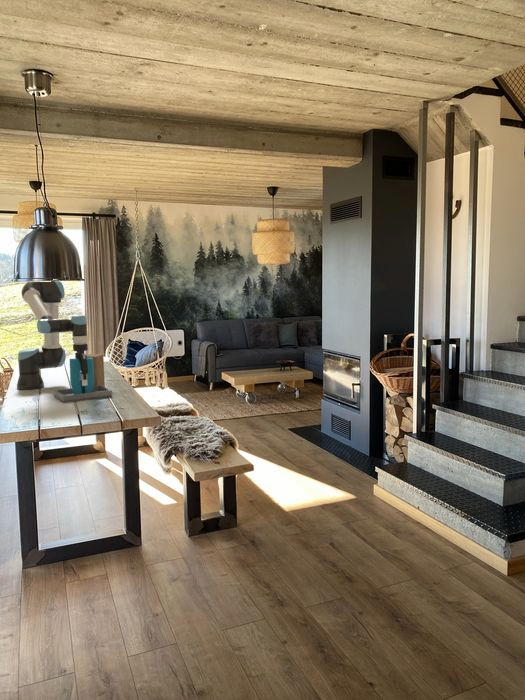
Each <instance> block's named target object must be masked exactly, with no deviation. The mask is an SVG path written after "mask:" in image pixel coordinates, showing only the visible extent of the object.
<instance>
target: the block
mask: <svg viewBox="0 0 525 700" xmlns="http://www.w3.org/2000/svg"><path fill="white" fill-rule="evenodd" d="M80 360H82V359H80ZM87 366H88V373H87V385H86V386H82V380H81V381H80V375H79V372H80V371H81V364H80V362H79V359H77V358H76V359H75V358H69V376H70V377H69V378H70V386H71V388H72V389H73V392H74V395H75V394H83V393H91V392H92V389H93V385H94V366H93V358H87Z"/></svg>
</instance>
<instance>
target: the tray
mask: <svg viewBox="0 0 525 700" xmlns="http://www.w3.org/2000/svg"><path fill="white" fill-rule="evenodd" d="M53 397H54V398H56V399H57V400H58V401H60V402H62V403H64V404H65V403H72V402H73V403H74V402H81V401H88V400H89V401H90V400H96V399H97V400H98V399H105V398H112V397H113V391H112V389H110V388H108V387H104V386H101V385H96V386H93V389H92V392H91V393H83V394H75V395H74V392H73V389H72V387H71V388H63V389H54V390H53Z"/></svg>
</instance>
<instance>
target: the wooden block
mask: <svg viewBox="0 0 525 700" xmlns="http://www.w3.org/2000/svg"><path fill="white" fill-rule="evenodd" d="M86 355H87V358H93V366H94V385H93V386H96V385H101V386H104V387H105V385H106V384H105V383H106V382H105V381H106V380H105V364H104V363H105V362H104V355H103V354H99V353H98V354H97V353H95V354H93V353H92V354H91V353H89V354H86Z"/></svg>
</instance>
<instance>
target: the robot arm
mask: <svg viewBox="0 0 525 700" xmlns="http://www.w3.org/2000/svg"><path fill="white" fill-rule="evenodd" d="M65 293H66V292H65V288H64V284H63V283H62V282H61V281H60V280H59V281H51V282H29V281H27V282H26V283H25V284H24V285H23V287H22V289H21V296H22V299H23V301H24V302H25V303H26V304H28V307H29V308H30V309H31V311H32V313H33V315H34V316H35V318H36V320H37V322H36V328H37V332H38V333H39V334H43V342H44V343H43V344H42V345H41V349H39V347H30V348H25V349H21V350H19V352H18V353H17V361H18V375H19V376H18V379H17V384H16V388H17V390H36V389H42V388H43V387H45V382H44V380H43V377H42V375H41V370H42V369H56V368H61V367H63V365H64V364H65V362H66V357H67V356H66V355H67V354H66V350H65V348H63V346H62V345H61V343H60V333H70V332H71V333H72V335H71V336H72V338H71V340H72V343H73V344H72V348H73V349H72V351H73V352H75V353H74V357H75V358H74V359H76V358H77V359H79V362H80V364H81V371H80V372H79V375H80V381H81V380H82V386H86V385H87V373H88V366H87V355H88V354H86V353H85V351H88V350H89V348H88V330H87V329H88V327H87V325H88V324H87V317H86V315H84V314H75V315H74V314H73V315H72V316H71V317H67V318H59V314H60V313H59V305H60V304H61V303H62V300H63V299H64V298H65V295H66V294H65ZM80 359H82V360H80Z"/></svg>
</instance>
